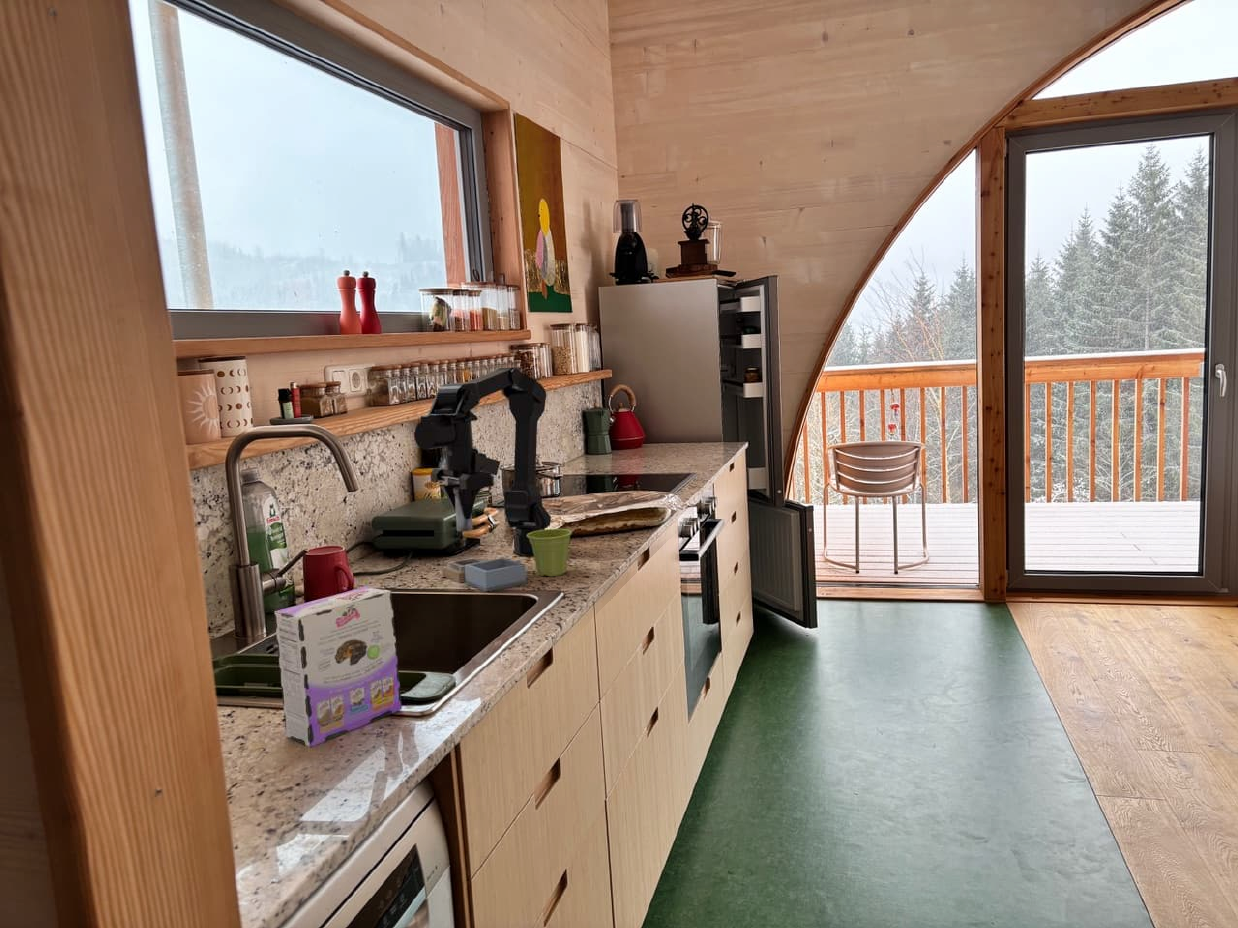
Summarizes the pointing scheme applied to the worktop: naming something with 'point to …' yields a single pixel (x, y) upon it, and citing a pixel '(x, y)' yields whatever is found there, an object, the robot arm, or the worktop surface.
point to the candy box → (337, 664)
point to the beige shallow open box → (458, 569)
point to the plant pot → (550, 550)
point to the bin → (495, 574)
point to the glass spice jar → (462, 518)
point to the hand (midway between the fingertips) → (463, 518)
